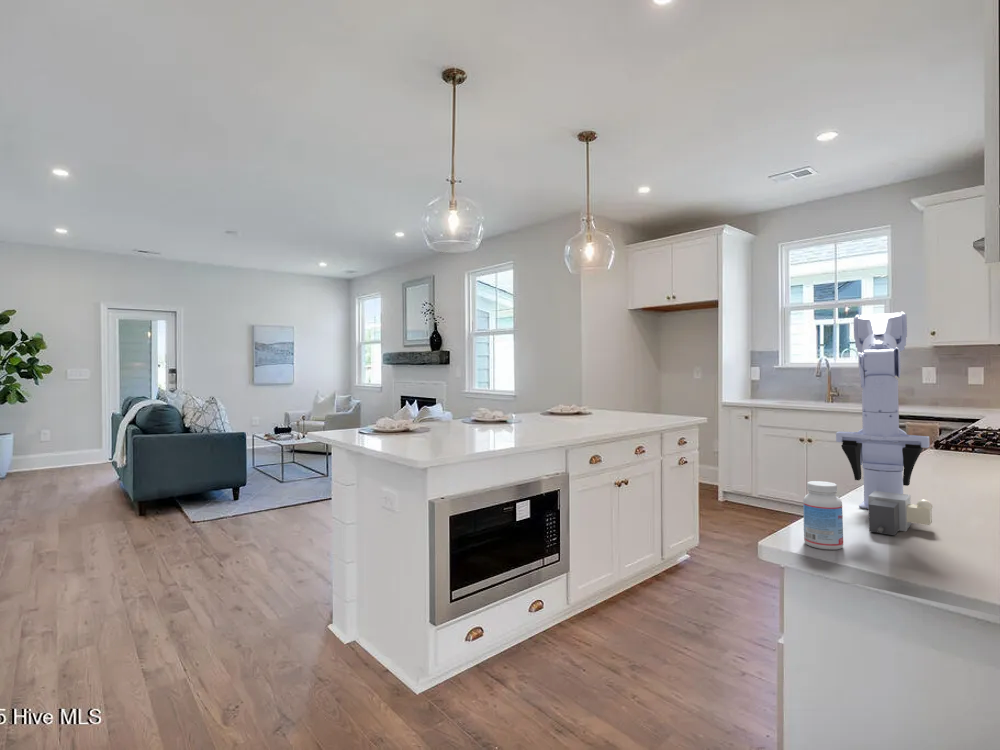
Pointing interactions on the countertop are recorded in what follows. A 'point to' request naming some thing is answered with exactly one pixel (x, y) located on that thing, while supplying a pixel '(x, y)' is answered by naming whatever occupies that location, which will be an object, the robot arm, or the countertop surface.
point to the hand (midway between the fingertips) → (881, 482)
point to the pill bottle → (823, 516)
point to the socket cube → (899, 498)
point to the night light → (920, 512)
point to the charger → (884, 517)
